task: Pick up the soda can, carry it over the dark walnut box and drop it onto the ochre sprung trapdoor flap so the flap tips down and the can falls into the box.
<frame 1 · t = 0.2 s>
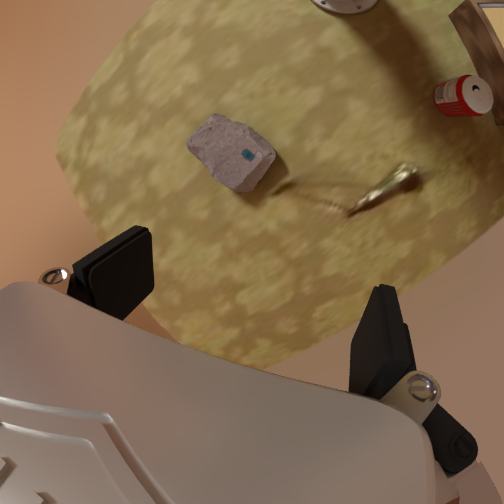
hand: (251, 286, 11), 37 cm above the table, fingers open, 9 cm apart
soda can: (446, 99, 32), on the table
stone: (239, 150, 46), on the table
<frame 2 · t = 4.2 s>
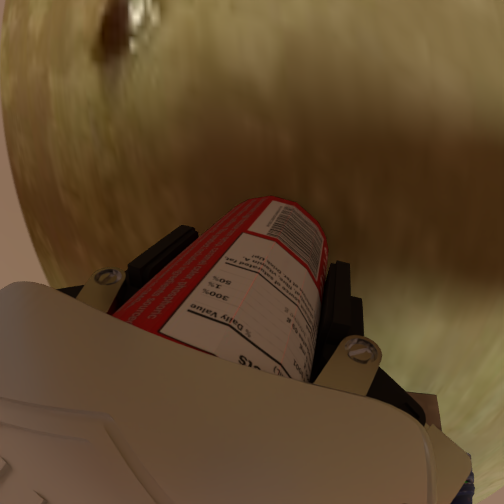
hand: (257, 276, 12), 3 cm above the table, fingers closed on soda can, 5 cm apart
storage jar: (433, 468, 20), on the table
well: (285, 430, 21), on the table
soda can: (274, 245, 15), on the table, touching gripper
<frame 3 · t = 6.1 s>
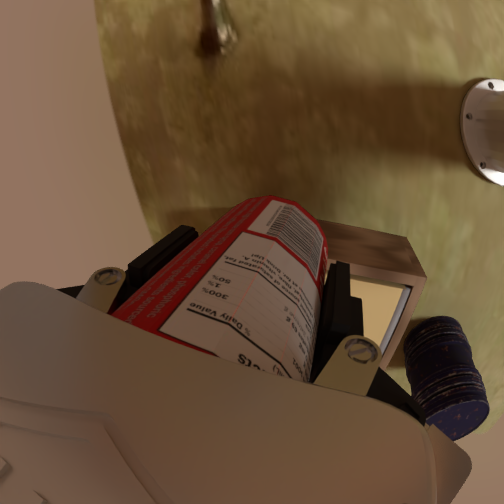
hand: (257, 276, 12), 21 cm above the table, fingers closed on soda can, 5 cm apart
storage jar: (433, 341, 34), on the table
well: (312, 284, 36), on the table
soda can: (274, 245, 15), point 18 cm above the table, touching gripper
trapdoor: (338, 336, 27), point 9 cm above the table, hinge at 0.0°
when the fingers open (15 cm above the table, at t = 8.3 s): soda can drops 3 cm, resting on trapdoor.
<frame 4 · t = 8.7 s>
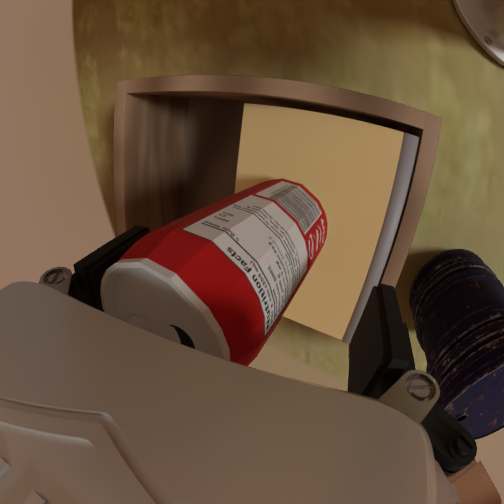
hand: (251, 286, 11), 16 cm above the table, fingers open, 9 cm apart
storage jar: (450, 290, 24), on the table
well: (275, 187, 25), on the table
soda can: (285, 220, 18), point 8 cm above the table, touching trapdoor
trapdoor: (308, 226, 18), point 8 cm above the table, hinge at -13.6°, touching soda can
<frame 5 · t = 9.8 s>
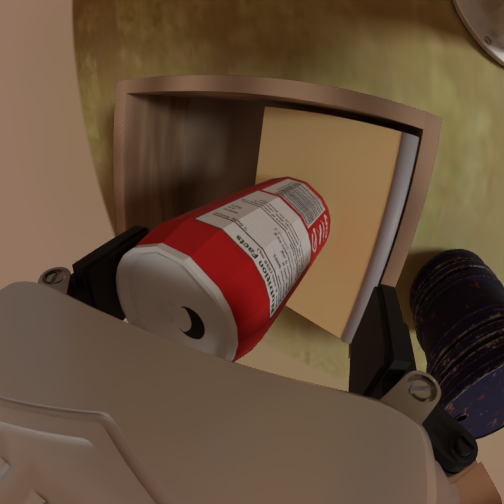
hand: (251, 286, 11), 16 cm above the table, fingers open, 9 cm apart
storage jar: (450, 290, 24), on the table
well: (275, 187, 25), on the table
soda can: (290, 217, 18), point 7 cm above the table, touching gripper, trapdoor
trapdoor: (316, 222, 19), point 7 cm above the table, hinge at -27.6°, touching soda can
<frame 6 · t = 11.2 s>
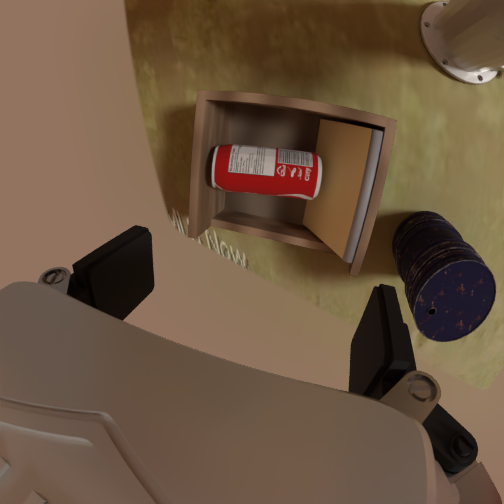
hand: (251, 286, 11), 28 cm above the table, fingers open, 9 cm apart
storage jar: (423, 243, 35), on the table
well: (294, 167, 36), on the table
soda can: (319, 177, 32), point 4 cm above the table, touching trapdoor, well
trapdoor: (338, 184, 31), point 5 cm above the table, hinge at -55.5°, touching soda can, well
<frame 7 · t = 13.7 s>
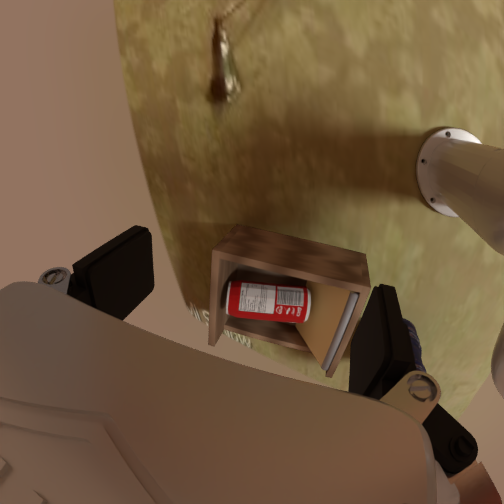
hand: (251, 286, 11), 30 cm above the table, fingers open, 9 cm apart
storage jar: (391, 338, 45), on the table
well: (290, 286, 46), on the table
soda can: (308, 305, 42), point 4 cm above the table, touching trapdoor, well
trapdoor: (322, 313, 41), point 5 cm above the table, hinge at -55.5°, touching soda can, well
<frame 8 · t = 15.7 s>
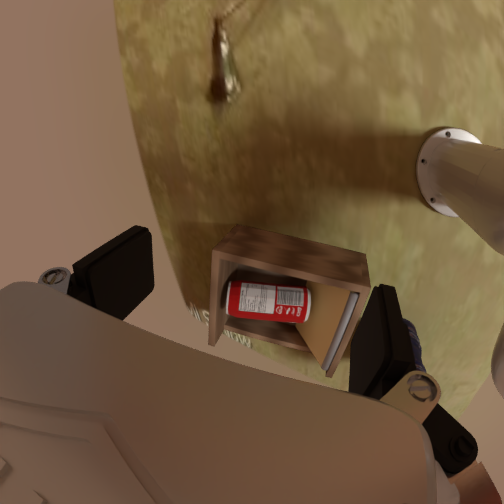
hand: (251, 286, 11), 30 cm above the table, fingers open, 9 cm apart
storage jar: (391, 338, 45), on the table
well: (290, 286, 46), on the table
soda can: (308, 305, 42), point 4 cm above the table, touching trapdoor, well
trapdoor: (322, 313, 41), point 5 cm above the table, hinge at -55.5°, touching soda can, well
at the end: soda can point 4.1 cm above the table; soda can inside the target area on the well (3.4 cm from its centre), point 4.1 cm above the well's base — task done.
